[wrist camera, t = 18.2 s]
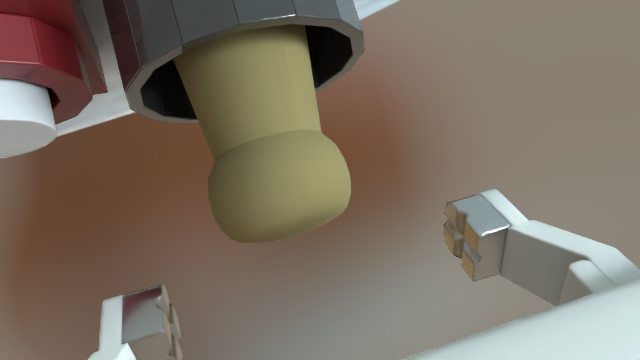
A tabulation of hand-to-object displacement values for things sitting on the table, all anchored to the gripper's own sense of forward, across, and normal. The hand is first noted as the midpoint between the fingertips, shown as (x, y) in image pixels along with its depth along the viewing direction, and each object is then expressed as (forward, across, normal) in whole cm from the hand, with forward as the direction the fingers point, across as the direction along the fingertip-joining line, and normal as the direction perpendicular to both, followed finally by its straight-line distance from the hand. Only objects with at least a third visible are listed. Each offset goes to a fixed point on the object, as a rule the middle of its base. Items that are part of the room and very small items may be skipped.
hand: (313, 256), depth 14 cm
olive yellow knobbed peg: (+11, 0, -6) cm, 13 cm away
